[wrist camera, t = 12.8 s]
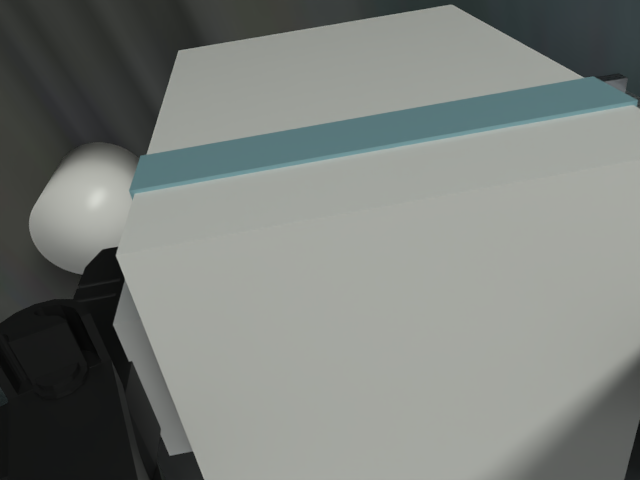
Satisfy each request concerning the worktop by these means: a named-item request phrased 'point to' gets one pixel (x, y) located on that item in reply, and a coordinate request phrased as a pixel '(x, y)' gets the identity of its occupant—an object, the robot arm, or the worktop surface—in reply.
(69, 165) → the cream knob
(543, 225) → the block
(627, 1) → the worktop surface
